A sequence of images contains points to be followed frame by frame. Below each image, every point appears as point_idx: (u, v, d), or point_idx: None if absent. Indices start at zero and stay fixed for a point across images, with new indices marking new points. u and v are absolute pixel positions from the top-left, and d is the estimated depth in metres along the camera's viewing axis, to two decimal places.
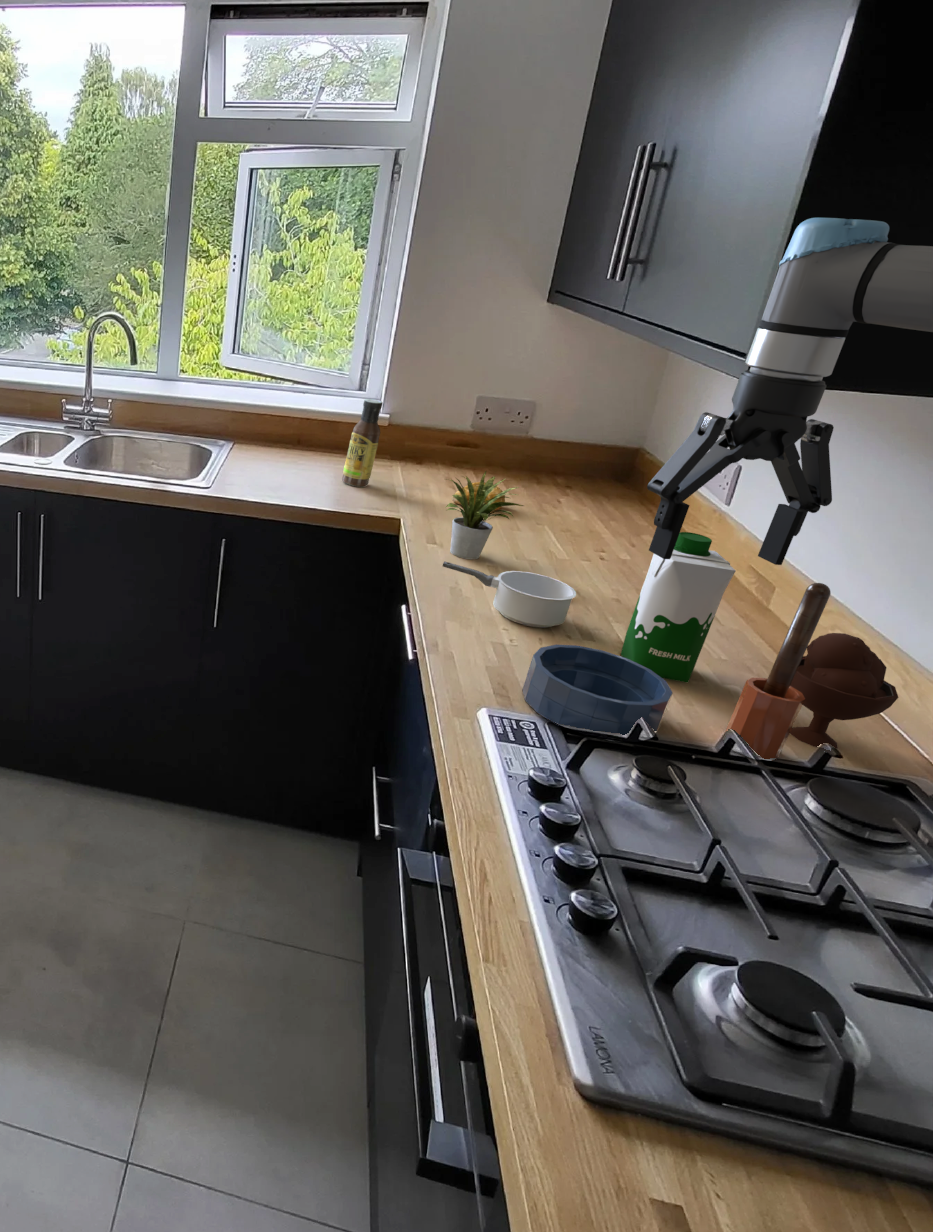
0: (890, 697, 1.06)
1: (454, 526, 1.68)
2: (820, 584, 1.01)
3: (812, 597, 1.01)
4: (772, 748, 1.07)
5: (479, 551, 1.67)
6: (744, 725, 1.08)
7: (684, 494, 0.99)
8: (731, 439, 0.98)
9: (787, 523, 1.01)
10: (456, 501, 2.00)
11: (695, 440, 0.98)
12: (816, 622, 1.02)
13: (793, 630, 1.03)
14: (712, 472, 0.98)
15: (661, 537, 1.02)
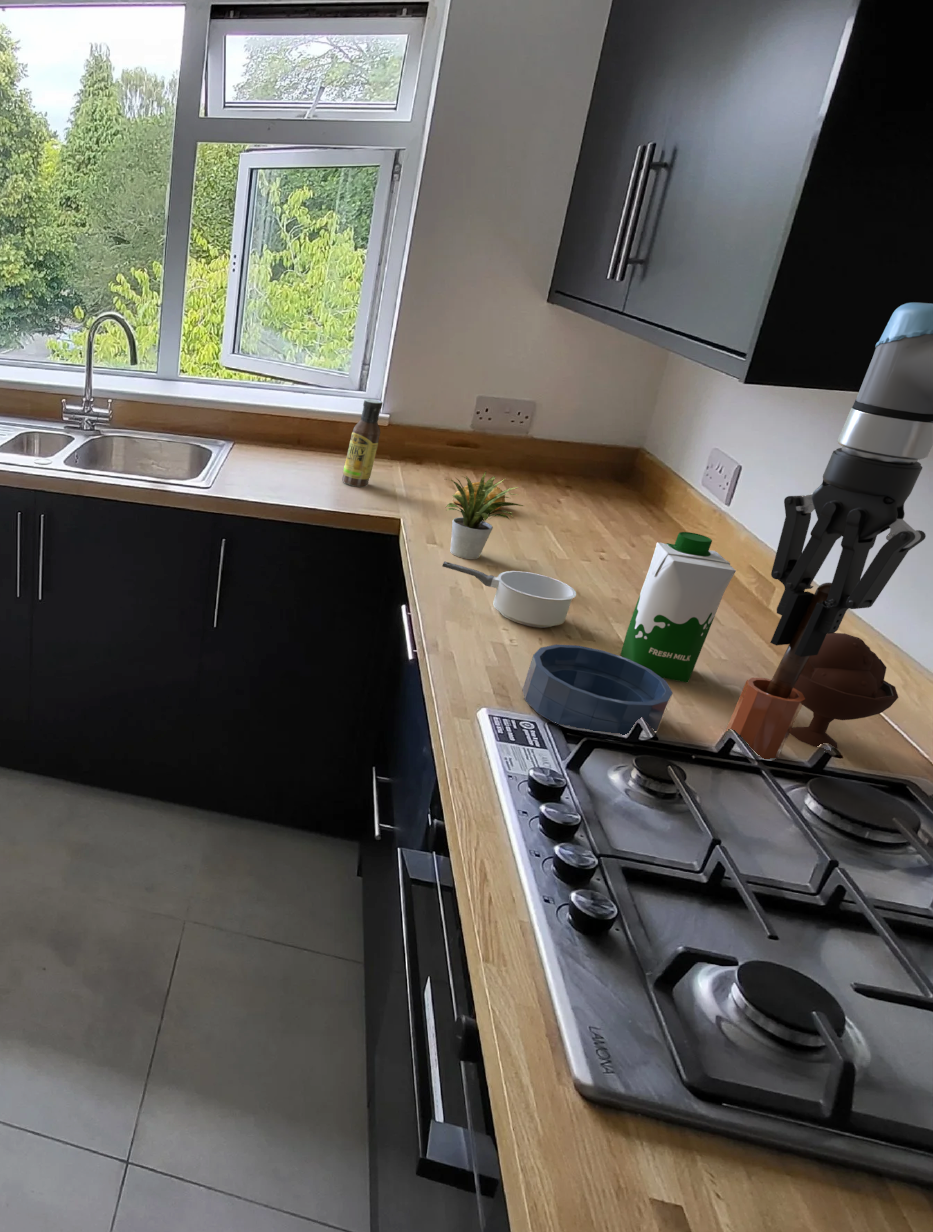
0: (890, 697, 1.06)
1: (454, 526, 1.68)
2: None
3: (823, 596, 1.02)
4: (772, 748, 1.07)
5: (479, 551, 1.67)
6: (744, 725, 1.08)
7: (792, 580, 1.03)
8: None
9: None
10: (456, 501, 2.00)
11: None
12: None
13: (802, 629, 1.04)
14: (807, 554, 1.01)
15: None
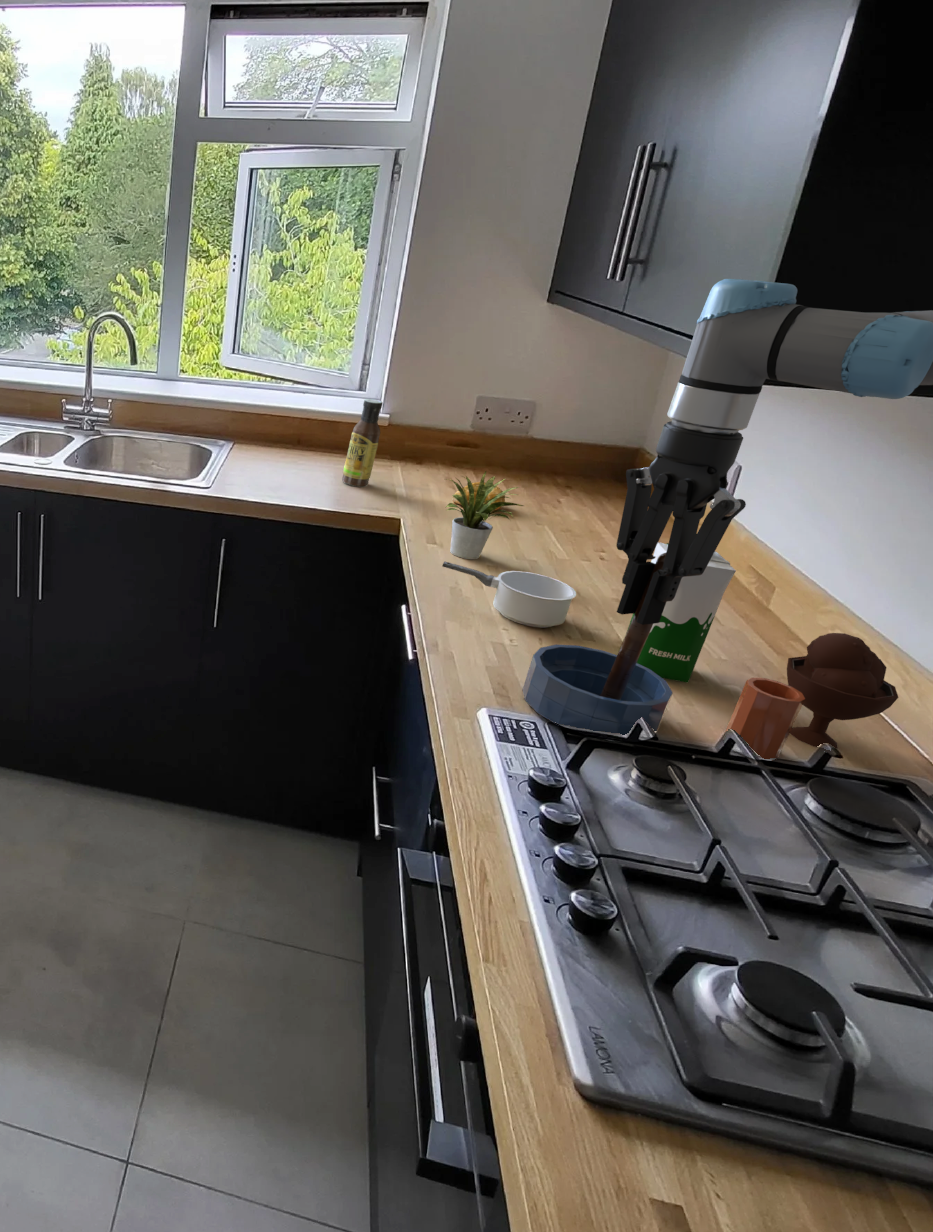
0: (890, 697, 1.06)
1: (454, 526, 1.68)
2: None
3: (662, 565, 1.05)
4: (772, 748, 1.07)
5: (479, 551, 1.67)
6: (744, 725, 1.08)
7: (634, 551, 1.06)
8: None
9: None
10: (456, 501, 2.00)
11: None
12: None
13: (644, 598, 1.07)
14: (646, 524, 1.05)
15: None
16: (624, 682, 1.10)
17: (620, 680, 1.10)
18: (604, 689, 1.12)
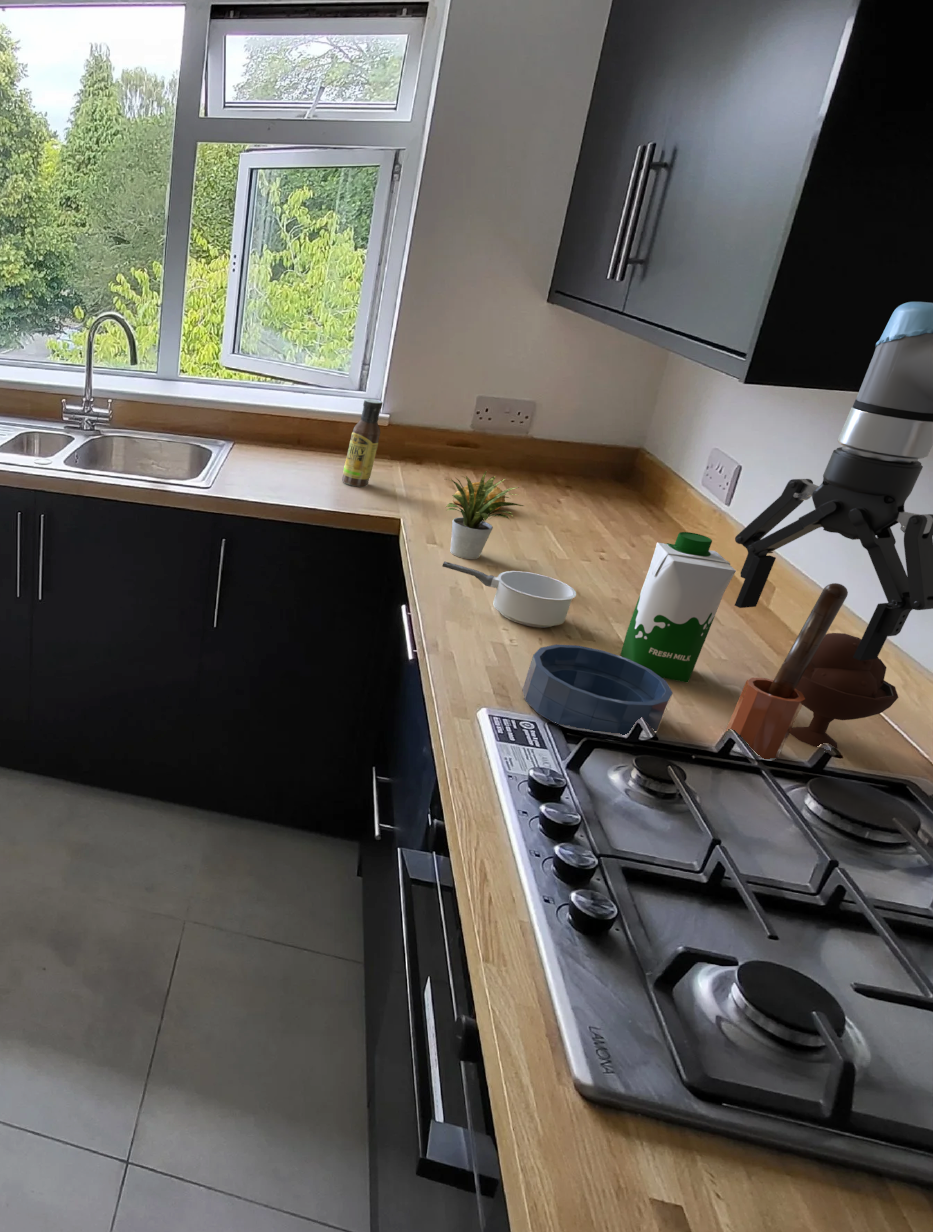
0: (890, 697, 1.06)
1: (454, 526, 1.68)
2: (839, 584, 1.02)
3: (829, 596, 1.02)
4: (772, 748, 1.07)
5: (479, 551, 1.67)
6: (744, 725, 1.08)
7: (757, 546, 1.07)
8: None
9: None
10: (456, 501, 2.00)
11: None
12: (830, 622, 1.03)
13: (807, 629, 1.04)
14: (784, 532, 1.04)
15: None
16: None
17: None
18: None
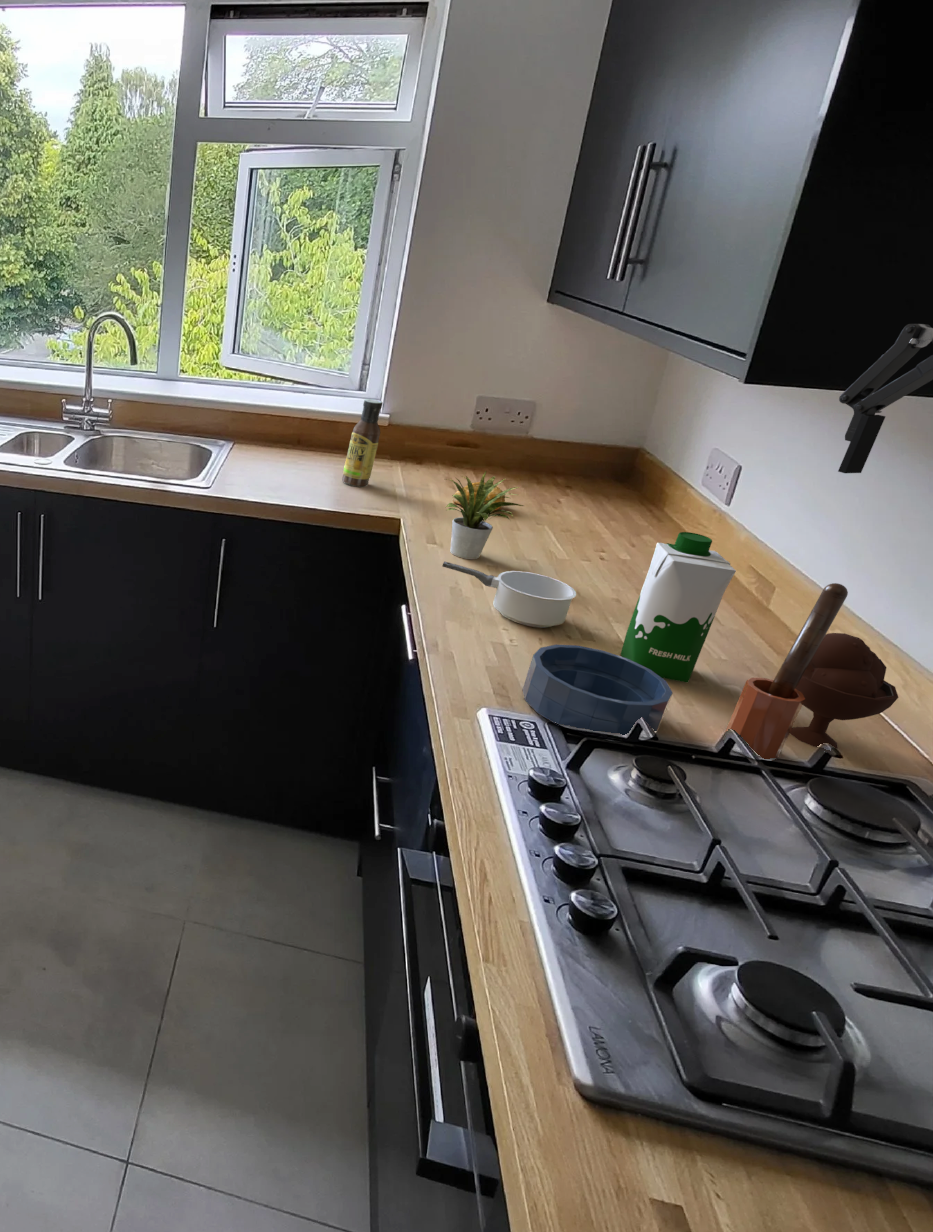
0: (890, 697, 1.06)
1: (454, 526, 1.68)
2: (839, 584, 1.02)
3: (829, 596, 1.02)
4: (772, 748, 1.07)
5: (479, 551, 1.67)
6: (744, 725, 1.08)
7: (865, 404, 0.98)
8: None
9: None
10: (456, 501, 2.00)
11: None
12: (830, 622, 1.03)
13: (807, 629, 1.04)
14: (899, 383, 0.95)
15: None
16: None
17: None
18: None
